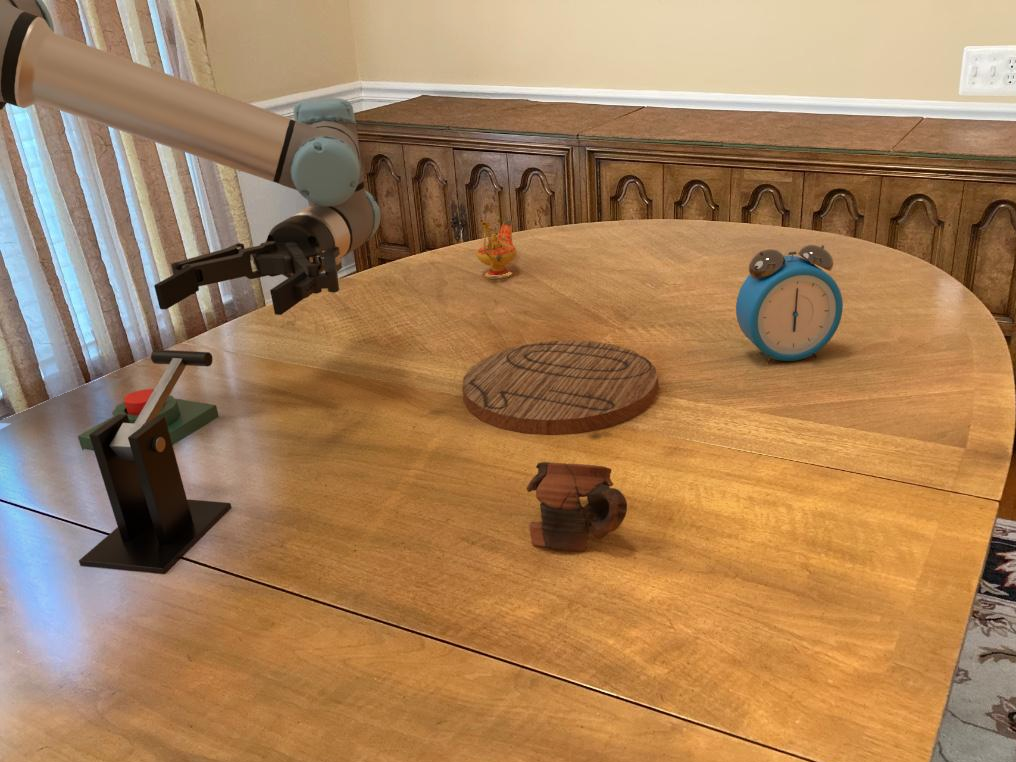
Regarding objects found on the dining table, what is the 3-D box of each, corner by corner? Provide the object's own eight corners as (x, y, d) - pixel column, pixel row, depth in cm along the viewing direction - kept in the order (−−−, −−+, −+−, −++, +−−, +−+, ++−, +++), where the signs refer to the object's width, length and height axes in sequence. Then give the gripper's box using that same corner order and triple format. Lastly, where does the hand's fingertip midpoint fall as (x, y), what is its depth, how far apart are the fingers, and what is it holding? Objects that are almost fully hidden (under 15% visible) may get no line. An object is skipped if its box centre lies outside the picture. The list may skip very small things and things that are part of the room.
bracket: (155, 505, 103) (124, 396, 97) (233, 512, 102) (205, 401, 96) (81, 571, 93) (41, 452, 87) (166, 579, 91) (131, 459, 85)
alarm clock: (748, 369, 130) (753, 259, 123) (732, 352, 135) (736, 246, 128) (839, 357, 133) (849, 249, 125) (820, 341, 138) (829, 236, 131)
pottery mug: (502, 543, 96) (509, 459, 96) (568, 543, 103) (574, 465, 103) (594, 555, 88) (601, 464, 88) (658, 555, 95) (665, 470, 95)
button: (120, 414, 115) (116, 400, 114) (145, 400, 119) (141, 387, 118) (146, 418, 114) (142, 405, 113) (171, 404, 117) (167, 391, 116)
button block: (82, 452, 115) (72, 422, 113) (157, 410, 125) (149, 381, 123) (148, 465, 111) (139, 434, 110) (220, 420, 121) (213, 391, 119)
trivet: (623, 446, 112) (623, 431, 111) (428, 420, 119) (426, 406, 118) (679, 363, 133) (679, 349, 132) (510, 345, 140) (509, 333, 139)
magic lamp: (530, 256, 178) (526, 195, 173) (507, 288, 163) (502, 222, 158) (494, 256, 179) (489, 195, 174) (468, 287, 164) (461, 222, 159)
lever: (163, 359, 101) (152, 343, 99) (216, 362, 99) (206, 345, 98) (103, 460, 93) (90, 444, 91) (160, 464, 92) (148, 448, 90)
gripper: (405, 276, 122) (331, 338, 104) (223, 269, 127) (122, 327, 108) (397, 216, 118) (319, 269, 100) (211, 211, 123) (104, 261, 105)
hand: (217, 300), depth 104 cm, fingers open, 13 cm apart
